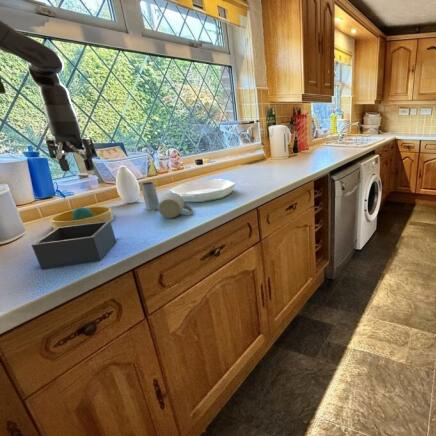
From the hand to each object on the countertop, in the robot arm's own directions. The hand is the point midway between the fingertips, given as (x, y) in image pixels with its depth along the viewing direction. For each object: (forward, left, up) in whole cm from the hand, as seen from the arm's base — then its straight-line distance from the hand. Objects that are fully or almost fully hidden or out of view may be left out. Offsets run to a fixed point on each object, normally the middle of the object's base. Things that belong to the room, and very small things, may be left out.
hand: (78, 170), depth 101 cm
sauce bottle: (+7, +20, -18) cm, 28 cm away
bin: (+8, -33, -18) cm, 38 cm away
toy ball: (-1, -5, -17) cm, 18 cm away
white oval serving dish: (+36, +18, -18) cm, 44 cm away
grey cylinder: (+18, +5, -18) cm, 26 cm away
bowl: (-1, -5, -18) cm, 18 cm away
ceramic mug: (+28, -7, -18) cm, 34 cm away
